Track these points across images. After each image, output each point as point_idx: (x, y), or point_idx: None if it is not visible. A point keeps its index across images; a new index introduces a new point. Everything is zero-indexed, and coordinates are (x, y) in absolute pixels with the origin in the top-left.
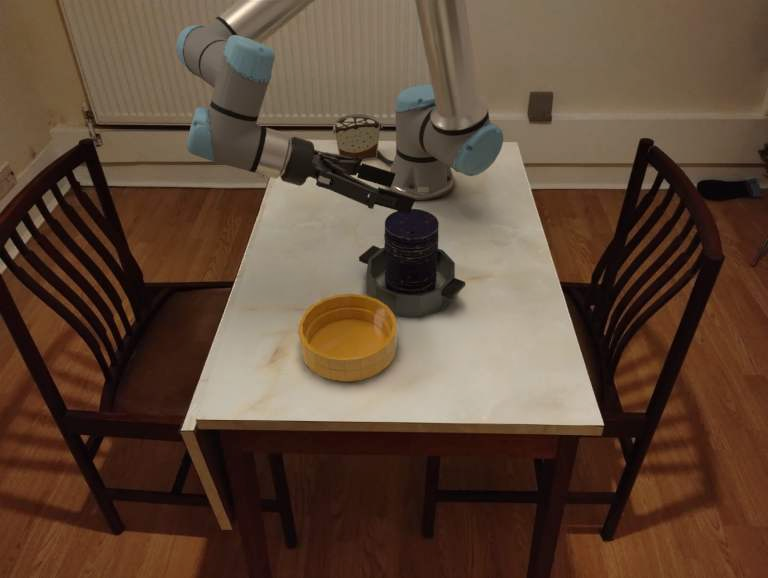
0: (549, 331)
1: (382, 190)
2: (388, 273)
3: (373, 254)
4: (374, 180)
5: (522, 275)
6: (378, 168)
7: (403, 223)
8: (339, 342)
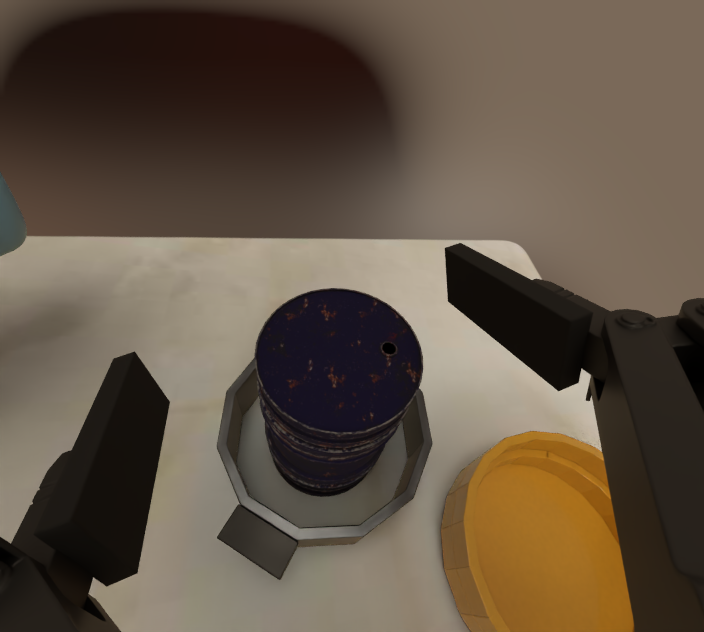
0: (397, 255)
1: (575, 306)
2: (365, 467)
3: (265, 528)
4: (150, 463)
5: (279, 266)
6: (97, 420)
7: (341, 374)
8: (543, 585)
